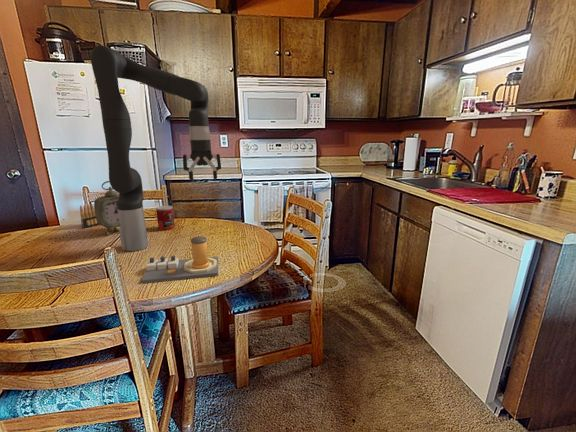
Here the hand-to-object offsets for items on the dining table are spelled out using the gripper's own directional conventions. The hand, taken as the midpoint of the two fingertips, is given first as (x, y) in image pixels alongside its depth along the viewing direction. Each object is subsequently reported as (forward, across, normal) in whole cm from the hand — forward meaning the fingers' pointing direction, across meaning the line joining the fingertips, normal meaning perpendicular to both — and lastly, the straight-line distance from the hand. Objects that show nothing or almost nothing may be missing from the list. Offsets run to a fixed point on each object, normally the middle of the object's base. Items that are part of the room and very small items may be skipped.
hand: (203, 180), depth 118 cm
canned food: (+28, -22, +31) cm, 47 cm away
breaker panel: (+28, -8, -21) cm, 36 cm away
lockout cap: (+27, -2, -21) cm, 34 cm away
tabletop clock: (+28, -45, +31) cm, 62 cm away
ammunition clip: (+28, -60, +44) cm, 80 cm away
